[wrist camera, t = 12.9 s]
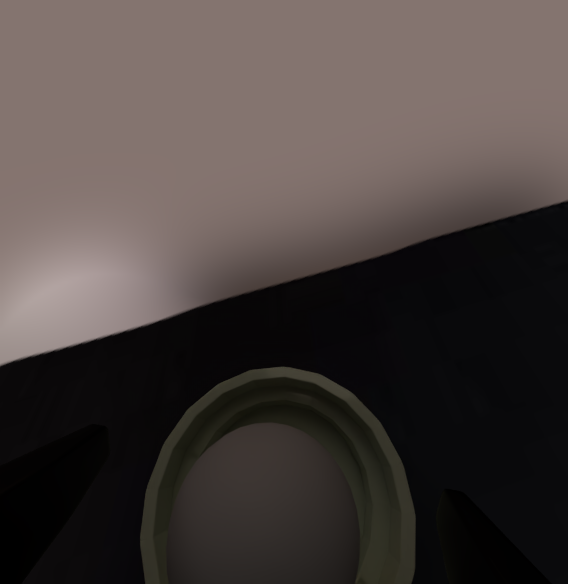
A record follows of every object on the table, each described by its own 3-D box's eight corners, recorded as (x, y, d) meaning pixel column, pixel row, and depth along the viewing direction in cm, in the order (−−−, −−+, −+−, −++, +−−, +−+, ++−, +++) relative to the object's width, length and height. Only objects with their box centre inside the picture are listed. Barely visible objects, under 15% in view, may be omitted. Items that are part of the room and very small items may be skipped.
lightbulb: (284, 415, 19) (266, 368, 9) (357, 502, 16) (436, 563, 7) (205, 491, 17) (82, 532, 7) (275, 603, 14) (222, 881, 5)
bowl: (267, 726, 13) (252, 840, 9) (141, 478, 18) (96, 484, 14) (434, 505, 16) (474, 519, 13) (290, 350, 21) (288, 325, 18)
